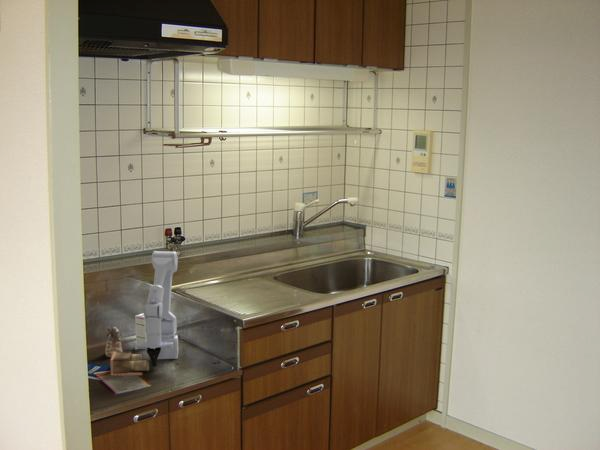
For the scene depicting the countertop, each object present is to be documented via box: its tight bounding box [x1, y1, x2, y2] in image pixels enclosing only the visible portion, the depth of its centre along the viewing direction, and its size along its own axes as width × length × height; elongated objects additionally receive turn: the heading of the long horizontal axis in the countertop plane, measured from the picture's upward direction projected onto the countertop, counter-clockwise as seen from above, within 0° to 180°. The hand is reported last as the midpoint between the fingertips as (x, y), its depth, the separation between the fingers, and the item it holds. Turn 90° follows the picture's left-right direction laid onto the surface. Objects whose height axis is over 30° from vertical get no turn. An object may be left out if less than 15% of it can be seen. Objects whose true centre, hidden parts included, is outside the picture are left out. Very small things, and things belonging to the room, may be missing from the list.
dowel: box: [130, 359, 150, 372], centre depth 277 cm, size 12×4×4 cm, turn 97°
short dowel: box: [132, 353, 143, 361], centre depth 287 cm, size 8×3×3 cm
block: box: [113, 351, 133, 373], centre depth 277 cm, size 6×9×6 cm, turn 7°
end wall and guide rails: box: [109, 352, 143, 377], centre depth 277 cm, size 12×12×6 cm
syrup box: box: [134, 312, 147, 343], centre depth 304 cm, size 6×6×14 cm
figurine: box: [104, 326, 124, 358], centre depth 294 cm, size 7×7×12 cm
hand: (154, 365), depth 278 cm, fingers closed
